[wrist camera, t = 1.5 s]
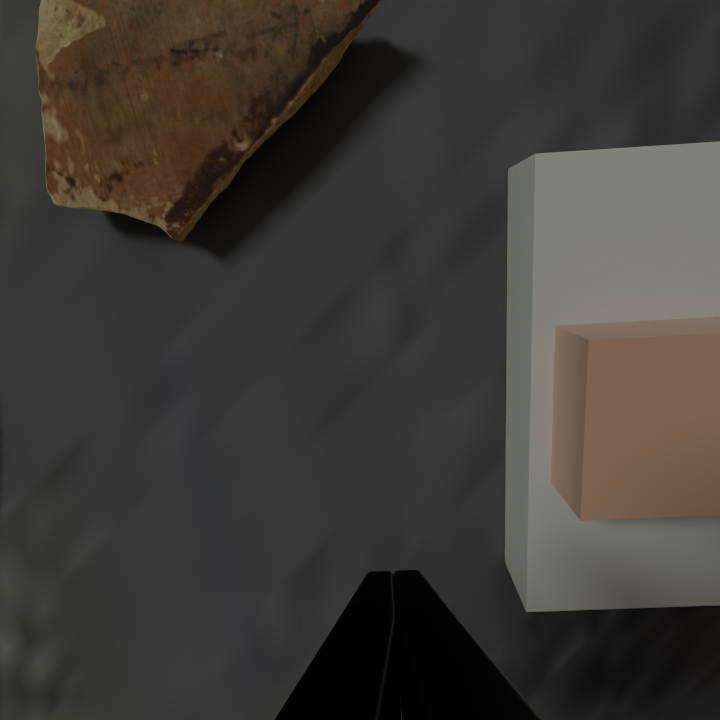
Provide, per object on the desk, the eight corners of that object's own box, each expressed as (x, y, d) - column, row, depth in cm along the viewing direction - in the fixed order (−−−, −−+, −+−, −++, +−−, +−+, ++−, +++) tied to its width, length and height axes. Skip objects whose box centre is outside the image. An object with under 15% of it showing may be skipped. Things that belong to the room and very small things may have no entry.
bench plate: (742, 552, 21) (802, 602, 18) (504, 561, 21) (526, 612, 18) (794, 150, 17) (880, 131, 14) (508, 168, 18) (535, 153, 15)
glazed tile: (712, 474, 17) (769, 513, 15) (550, 481, 17) (580, 520, 15) (729, 316, 16) (795, 329, 13) (555, 325, 16) (588, 339, 13)
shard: (384, 13, 16) (384, -14, 14) (369, 251, 18) (367, 252, 16) (60, -2, 17) (22, -31, 15) (78, 233, 18) (46, 232, 17)
